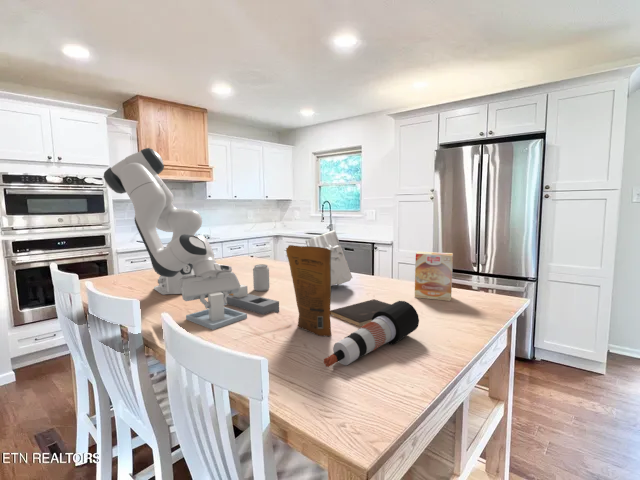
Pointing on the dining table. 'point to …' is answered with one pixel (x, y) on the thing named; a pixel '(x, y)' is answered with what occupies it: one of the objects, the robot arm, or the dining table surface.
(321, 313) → the pancake mix bag
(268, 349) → the dining table surface
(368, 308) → the hardcover book
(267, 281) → the can
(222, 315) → the grey rectangular block
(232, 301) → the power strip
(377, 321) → the cable
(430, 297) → the coffeecake box
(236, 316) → the tray
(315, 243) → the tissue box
